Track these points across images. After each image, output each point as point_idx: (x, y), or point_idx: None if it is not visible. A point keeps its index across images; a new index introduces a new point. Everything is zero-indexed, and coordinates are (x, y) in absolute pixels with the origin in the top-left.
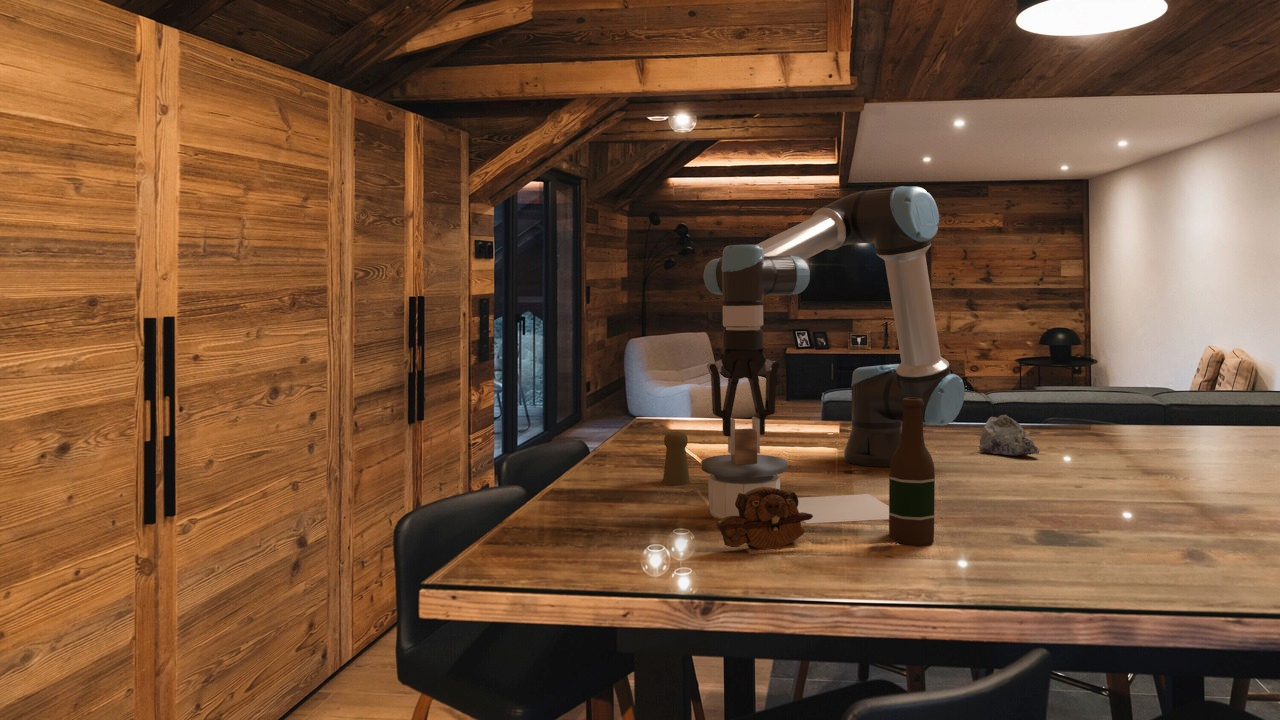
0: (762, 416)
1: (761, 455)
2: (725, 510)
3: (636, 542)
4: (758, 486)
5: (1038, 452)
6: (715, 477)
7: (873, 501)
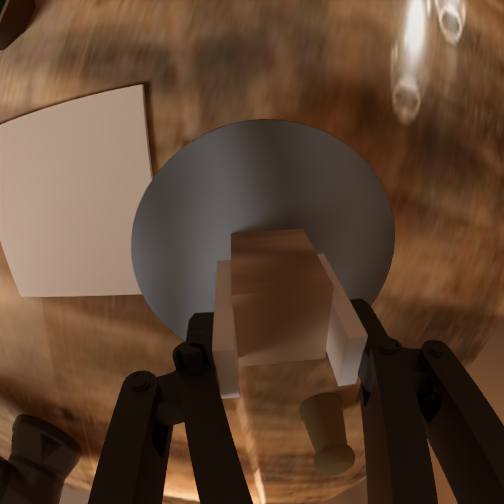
0: (197, 350)
1: None
2: None
3: (473, 61)
4: None
5: None
6: None
7: (11, 249)
